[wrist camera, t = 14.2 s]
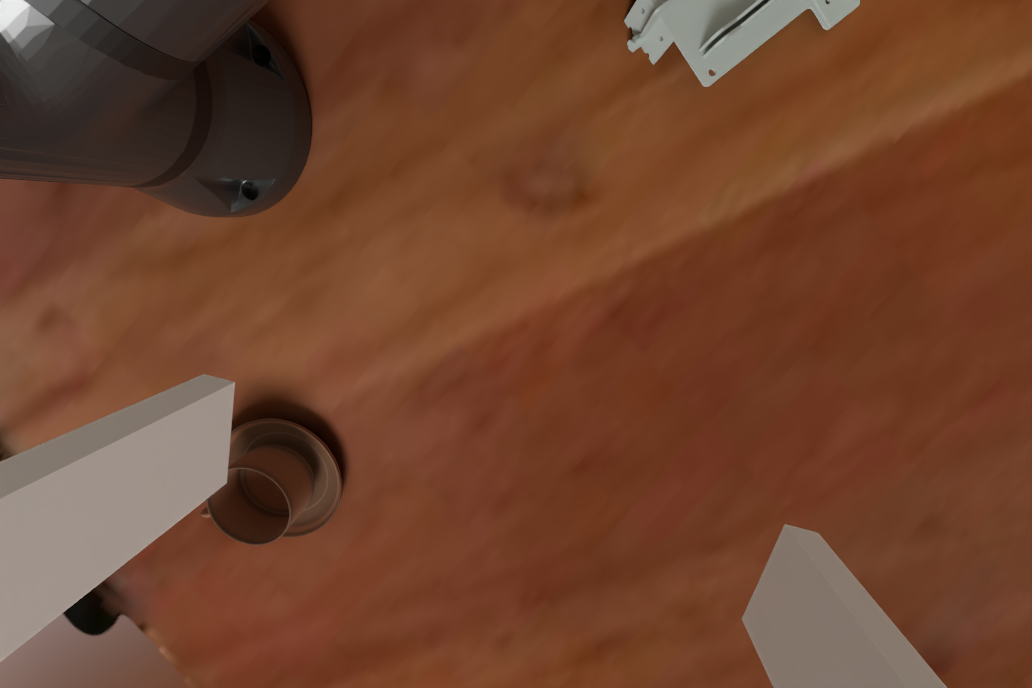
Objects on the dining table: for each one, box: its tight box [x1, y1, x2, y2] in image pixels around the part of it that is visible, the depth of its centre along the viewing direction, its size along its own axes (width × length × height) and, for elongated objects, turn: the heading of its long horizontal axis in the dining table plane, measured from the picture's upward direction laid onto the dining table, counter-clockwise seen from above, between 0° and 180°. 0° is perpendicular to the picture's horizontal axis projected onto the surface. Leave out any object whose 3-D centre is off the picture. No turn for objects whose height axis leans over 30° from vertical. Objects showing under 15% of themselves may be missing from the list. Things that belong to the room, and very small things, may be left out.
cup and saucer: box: [201, 418, 342, 545], centre depth 42 cm, size 12×12×6 cm
